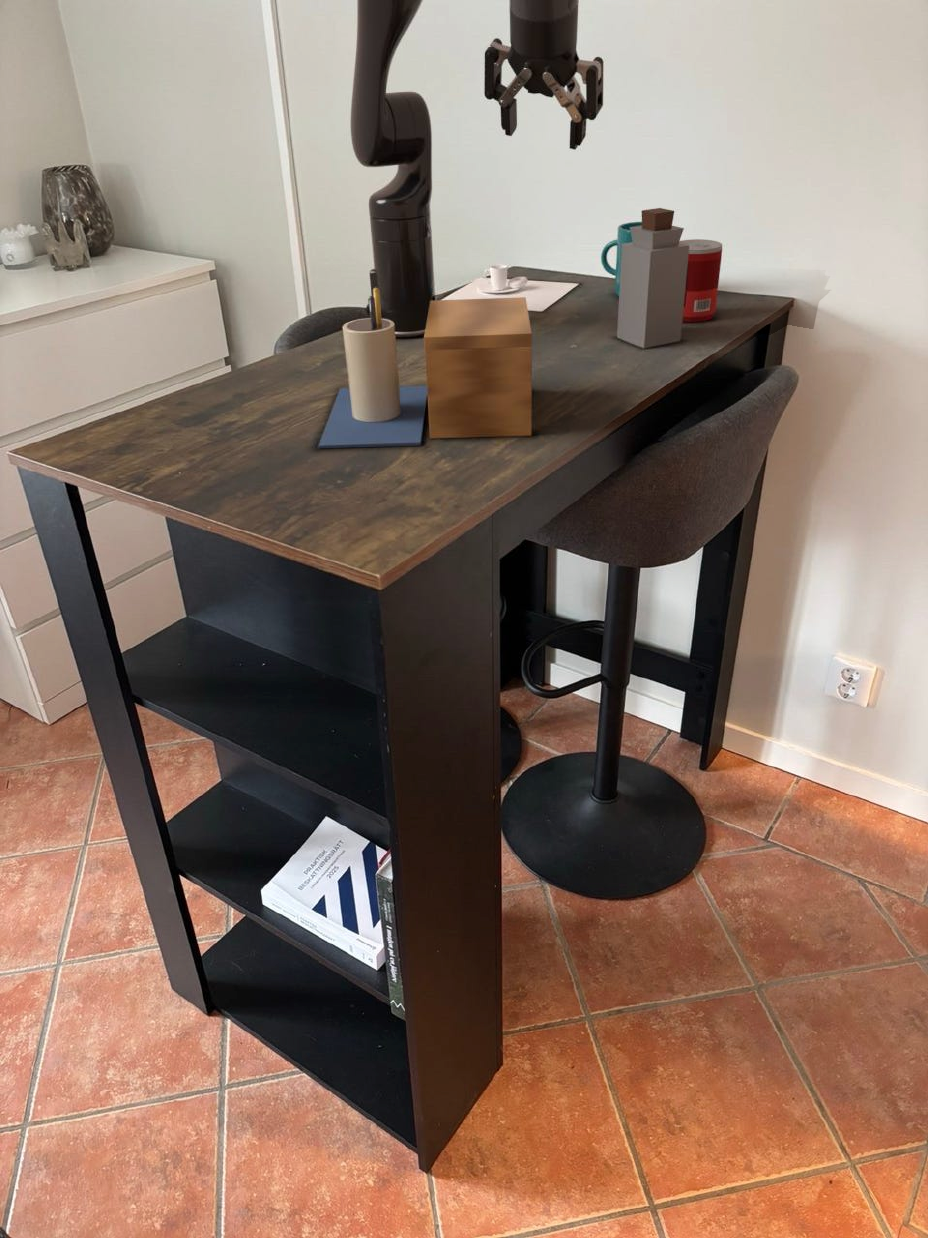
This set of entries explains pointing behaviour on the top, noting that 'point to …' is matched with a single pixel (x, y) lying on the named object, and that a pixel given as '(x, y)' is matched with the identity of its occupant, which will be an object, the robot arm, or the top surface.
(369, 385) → the holder
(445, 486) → the top surface
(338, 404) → the mat
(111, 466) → the top surface
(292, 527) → the top surface
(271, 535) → the top surface
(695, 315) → the canned food
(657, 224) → the perfume bottle
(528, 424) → the wooden shelf box
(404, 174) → the robot arm
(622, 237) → the cup
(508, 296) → the teacup and saucer
